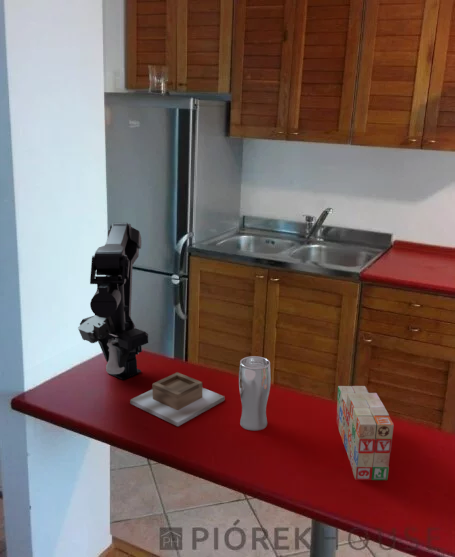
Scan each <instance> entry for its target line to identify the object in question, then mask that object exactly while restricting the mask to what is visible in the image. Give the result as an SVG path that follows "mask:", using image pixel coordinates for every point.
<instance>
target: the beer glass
mask: <svg viewBox="0 0 455 557" xmlns="http://www.w3.org/2000/svg"><path fill="white" fill-rule="evenodd" d="M270 361H271V360H269V359H267V358H266V357H262V356H257V355H256V356H255V355H253V356H252V355H251V356H245V357H244V358H241V359H240V361H239V371H238V389H239V395H240V401H241V416H240V419H239V420H240V422H239V424H240V426H241V427H242V428H243V429H244V430H248V431H256V432H257V431H261V430H264V429H265V428H266V427H267V426H268V419H267V405H268V399H269V395H270V391H271V383H272V382H271V381H272V380H271V374H272V373H271V372H272V371H271V362H270Z"/></svg>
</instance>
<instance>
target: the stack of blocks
mask: <svg viewBox="0 0 455 557" xmlns="http://www.w3.org/2000/svg"><path fill="white" fill-rule="evenodd" d="M336 399H337V403H336V425H337V427H338V432H339V434H340V437H341V440H342V443H343V445H344V449H345V452H346V453H347V458H348V460H349V464H350V467H351V470H352V474H353V477H354V479H355V480H356V481H388V478H389V472H390V471H389V470H390V466H389V465H390V457H391V452H392V443H393V434H394V426H395V425H394V422H393V421H392V419H391V417H390V414H389V412H388V411H387V409H386V407H385V405H384V403H383V402H382V400H381V398H380V397H379V395H378V393H377V392H369V390H368V388H367V387H366V386H365V385H338V386H337V398H336Z"/></svg>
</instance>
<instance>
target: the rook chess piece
mask: <svg viewBox="0 0 455 557" xmlns="http://www.w3.org/2000/svg"><path fill="white" fill-rule="evenodd" d="M117 342H118V340H117V338H115V340H114V338H112V340H111V339H109V341H108V343H107V345H108V347H109V350H108V351H109V361H108V362H106V365H105V368H106V369H105V370H106V372H107V374H108V373H109V374H108V375H111V374H120V373H122V372H123V371H124V369H125V368H124V367H122V368H119V365H118V358H117V350H116V348H115V347H113V346H112V344H114V343H117Z"/></svg>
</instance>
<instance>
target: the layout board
mask: <svg viewBox="0 0 455 557" xmlns="http://www.w3.org/2000/svg"><path fill="white" fill-rule="evenodd" d="M151 386H152V387H151V389H150V390H148V391H146V392H144V393H141V394H139V395H137V396H135V397H133V398H131V399H129V401H130V402H129V403H130V405H132V406H135V407H136V408H139V409H140V410H143V411H144V412H146V413H149V414H150V415H153V416H155V417H157V418H159V419H162V420H164V421H165V422H168V423H169V424H172V425H174V426H175V427H180V426H181V425H183V424H186V423H187V422H190V420H192V419H195V417H198V416H199V415H202V413H204V412H205V413H206V412H207V411H208V410H210V409H211V408H213V407H215V406H217V405H219V404H221V403H222V402H224V401H225V399H226V398H225V395H222V394H220V393H217V392H215V391H212V390H209V389H207V388H204V387H203V381H200V380H198V379H195V378H193V377H191V376H188V375H185V374H182V373H181V372H178V371H177V372H175V373H172V374H171V375H169V376H166V377H164V378H161V379H160V380H157V381H156V382H153V383H152V385H151Z"/></svg>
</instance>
